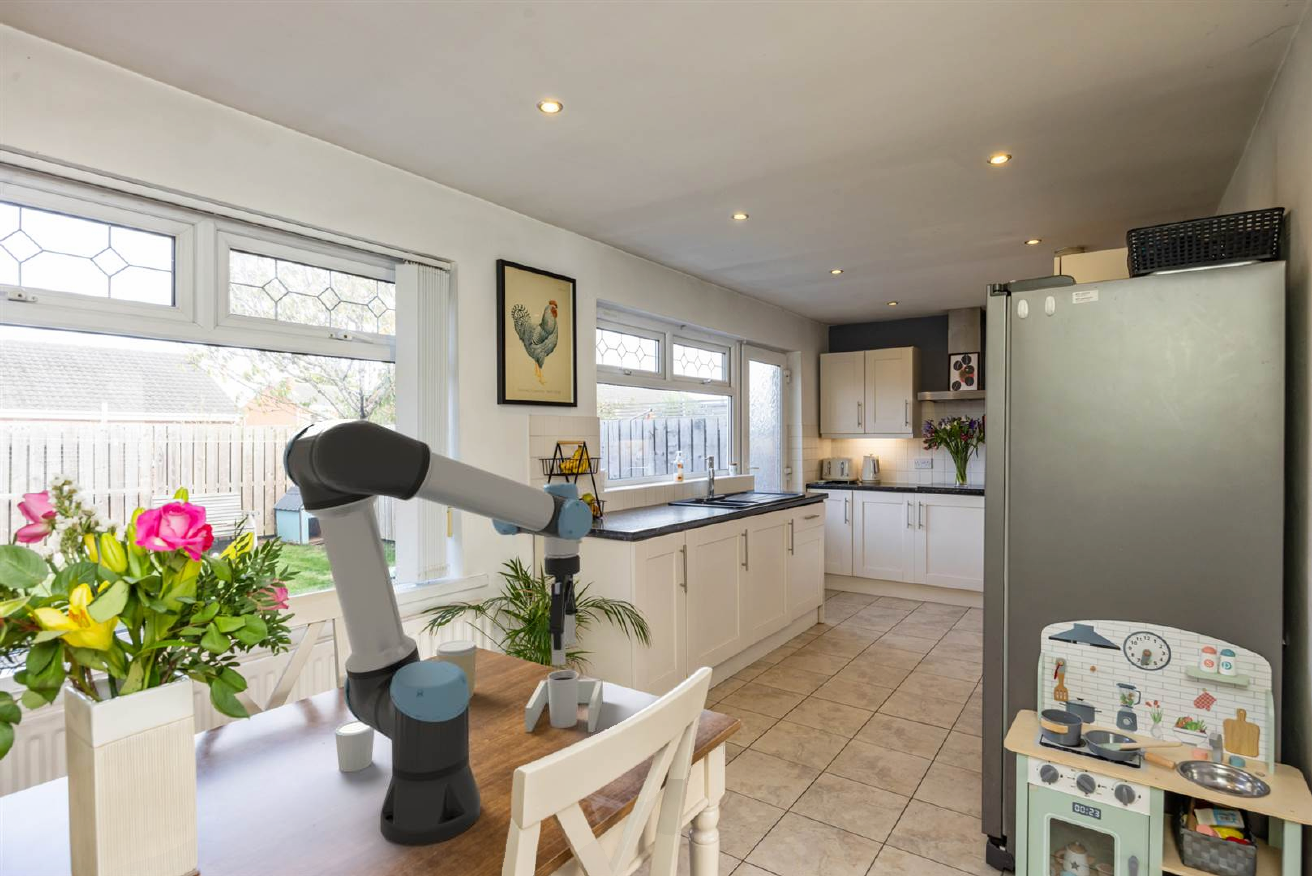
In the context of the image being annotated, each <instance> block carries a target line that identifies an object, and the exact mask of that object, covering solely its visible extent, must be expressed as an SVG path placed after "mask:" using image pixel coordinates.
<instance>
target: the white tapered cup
mask: <svg viewBox="0 0 1312 876" xmlns="http://www.w3.org/2000/svg"><path fill="white" fill-rule="evenodd" d="M375 731H376V730H375V729H373V728H371V727H370V726H368V725H365V724H364V723H362V722H360V721H359V720H353V721H349V722H346V723H343V724H341V725H339V726H337V727H336V729H335V730H334V734H335V735H334V736H335V743H336V744H335V745H336V752H337V753H336V754H337V760H338V770H340V771H341V772H346V773H352V772H357V771H362V770H364V769H366V768H368V767H369V766H371V764H372V761H373V751H374V739H375Z"/></svg>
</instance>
